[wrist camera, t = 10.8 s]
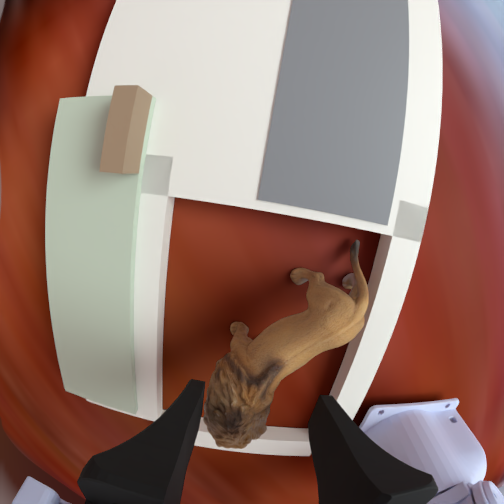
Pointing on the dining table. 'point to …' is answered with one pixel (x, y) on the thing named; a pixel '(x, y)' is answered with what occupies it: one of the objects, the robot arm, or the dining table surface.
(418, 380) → the dining table surface
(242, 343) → the lion figurine
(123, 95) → the shutter
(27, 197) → the dining table surface
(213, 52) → the puzzle board
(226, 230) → the dining table surface
